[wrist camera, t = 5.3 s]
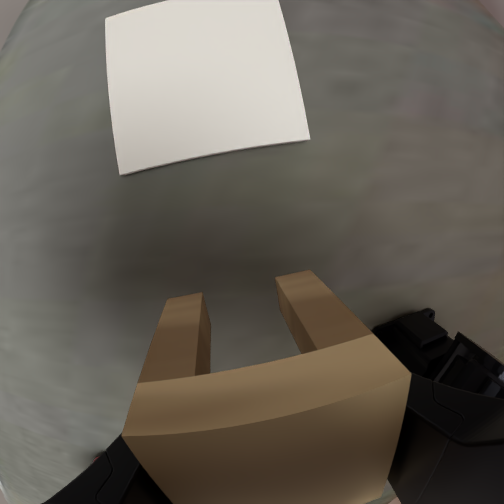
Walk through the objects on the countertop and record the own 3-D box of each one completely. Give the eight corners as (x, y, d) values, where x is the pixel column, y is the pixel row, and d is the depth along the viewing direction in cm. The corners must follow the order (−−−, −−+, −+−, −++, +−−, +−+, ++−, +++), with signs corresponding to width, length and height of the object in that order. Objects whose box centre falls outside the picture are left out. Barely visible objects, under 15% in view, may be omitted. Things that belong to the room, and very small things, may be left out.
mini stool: (320, 380, 11) (380, 496, 5) (203, 405, 11) (204, 536, 5) (309, 269, 10) (411, 373, 4) (167, 298, 10) (121, 436, 4)
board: (305, 141, 19) (310, 139, 18) (124, 175, 18) (119, 175, 17) (272, -5, 16) (274, -12, 15) (109, 24, 15) (105, 18, 14)
